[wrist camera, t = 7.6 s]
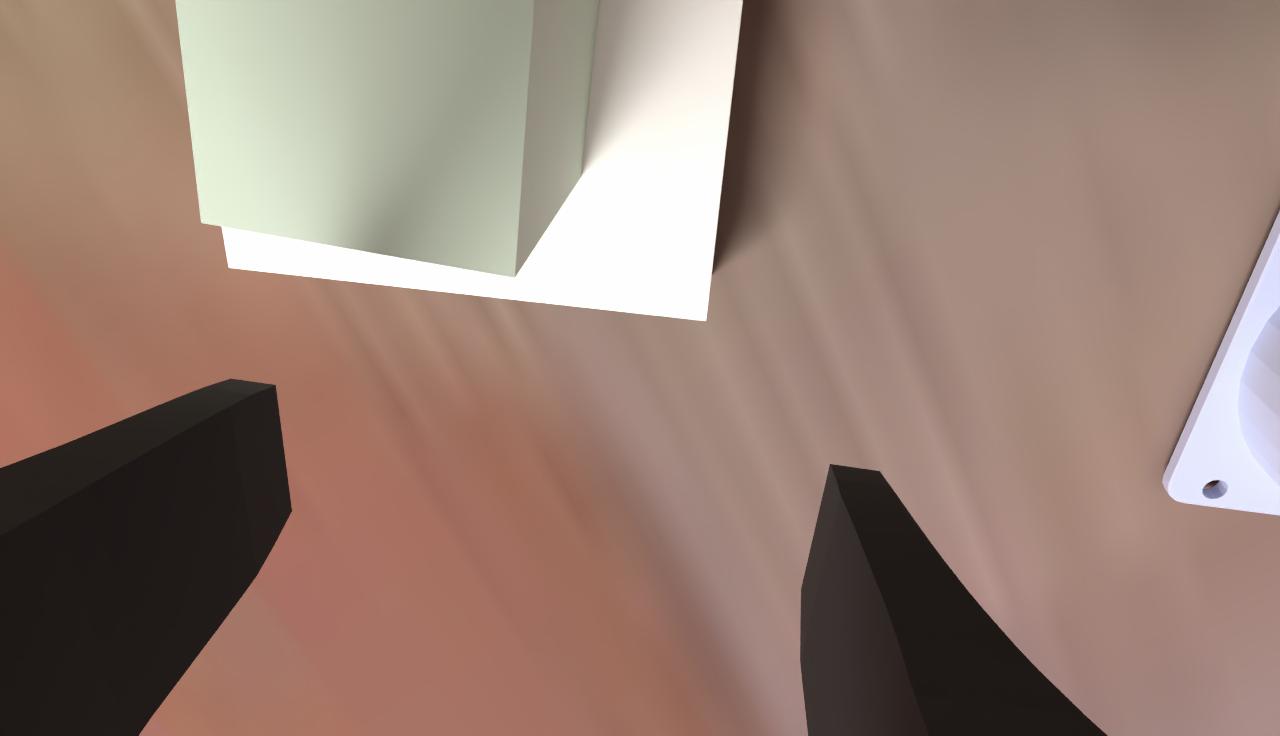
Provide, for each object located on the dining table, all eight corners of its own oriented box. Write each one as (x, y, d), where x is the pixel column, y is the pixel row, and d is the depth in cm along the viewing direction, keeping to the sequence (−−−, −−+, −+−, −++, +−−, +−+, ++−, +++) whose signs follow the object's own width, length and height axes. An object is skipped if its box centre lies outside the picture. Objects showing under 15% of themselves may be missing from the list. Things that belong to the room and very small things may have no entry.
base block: (773, -263, 15) (776, -298, 13) (712, 266, 20) (706, 321, 17) (231, -297, 16) (128, -337, 13) (295, 222, 21) (228, 267, 18)
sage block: (608, -91, 14) (539, -87, 10) (581, 177, 16) (515, 278, 12) (341, -133, 14) (158, -147, 10) (349, 137, 17) (201, 223, 12)
